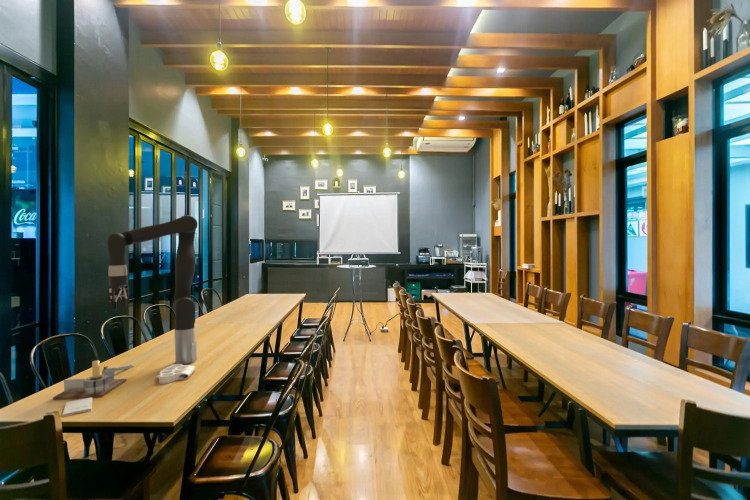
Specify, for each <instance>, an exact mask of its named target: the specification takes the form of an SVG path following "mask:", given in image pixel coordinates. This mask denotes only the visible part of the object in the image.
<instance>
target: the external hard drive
mask: <svg viewBox="0 0 750 500" xmlns="http://www.w3.org/2000/svg"><path fill="white" fill-rule="evenodd" d="M93 402H94V397H90V398H79V399H75V400H72V401H71V400H70V401H67V402H65V406H64V408H63V412H62V414H61V416H64V417H68V416H67V415H69V416H72V415H71V414H73V415H77V414H82V413H81V412H83V413H88V412H91V411H92V407H93ZM87 411H88V412H87ZM76 413H77V414H76Z"/></svg>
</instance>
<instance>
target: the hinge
mask: <svg viewBox="0 0 750 500" xmlns="http://www.w3.org/2000/svg"><path fill="white" fill-rule="evenodd" d="M114 374H115V373H114V369H111V370H109V371H107V372H105V373H104V374H102V373H101V374H100V379H97V380H93V375H92V376H89V377H86V378H69V379H67V378H66V379H64V380H63V391H64V392H80V391H84V393H85V394H94V393H100V392H103V391H106V390H107V389H109V383H110V382H111V381H113V380H114V379H115V377H114V376H115V375H114Z"/></svg>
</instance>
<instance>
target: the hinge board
mask: <svg viewBox="0 0 750 500" xmlns="http://www.w3.org/2000/svg"><path fill="white" fill-rule="evenodd" d="M126 382H127V378H114V380H113V381H111V382H110V383H109V389H107V390H106V391H103V392H100V393H94V394H85V393H84V391H80V392H64V390H63V391H62V392H59V393H57V394H56V395H54V396H52V400H53V401H55V400H72V399H85V398H90V397H92V398H103V397H105V396H106V395H107V394H109V393H110V392H112V391H113V390H115V389H116V388H118V387H119V386H121V385H122V384H124V383H126Z"/></svg>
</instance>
